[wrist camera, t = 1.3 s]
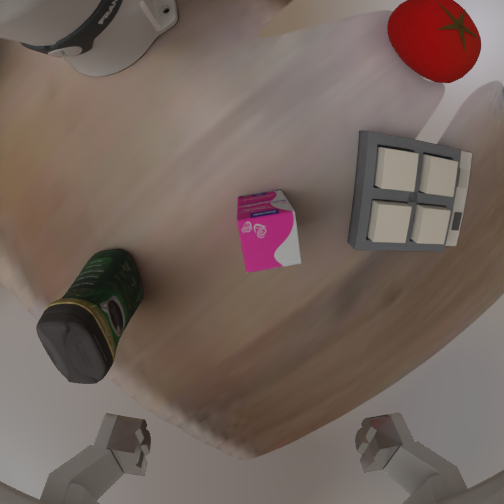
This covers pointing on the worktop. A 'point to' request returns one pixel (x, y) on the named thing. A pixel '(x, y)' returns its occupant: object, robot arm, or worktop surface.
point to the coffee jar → (91, 317)
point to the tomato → (435, 38)
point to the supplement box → (268, 231)
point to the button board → (368, 191)
